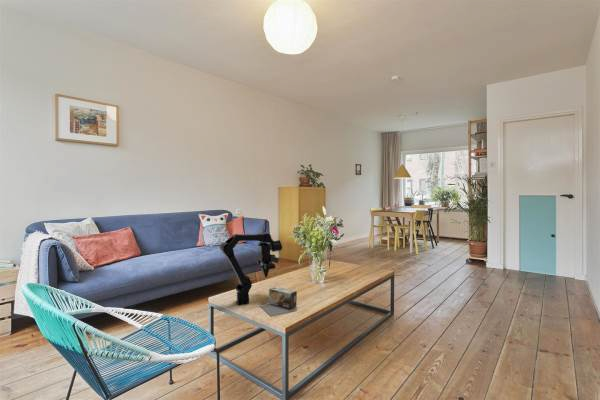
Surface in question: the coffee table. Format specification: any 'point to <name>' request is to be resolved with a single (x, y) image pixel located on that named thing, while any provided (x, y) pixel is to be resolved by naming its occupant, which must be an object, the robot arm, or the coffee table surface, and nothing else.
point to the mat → (276, 309)
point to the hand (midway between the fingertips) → (266, 277)
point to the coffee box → (282, 297)
